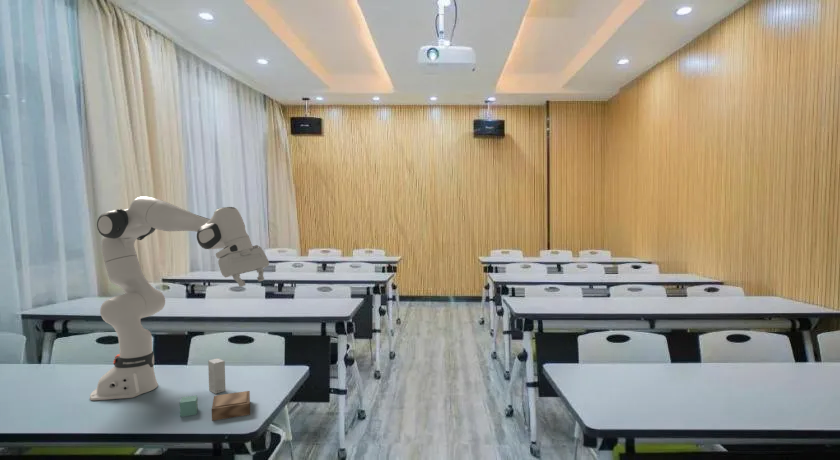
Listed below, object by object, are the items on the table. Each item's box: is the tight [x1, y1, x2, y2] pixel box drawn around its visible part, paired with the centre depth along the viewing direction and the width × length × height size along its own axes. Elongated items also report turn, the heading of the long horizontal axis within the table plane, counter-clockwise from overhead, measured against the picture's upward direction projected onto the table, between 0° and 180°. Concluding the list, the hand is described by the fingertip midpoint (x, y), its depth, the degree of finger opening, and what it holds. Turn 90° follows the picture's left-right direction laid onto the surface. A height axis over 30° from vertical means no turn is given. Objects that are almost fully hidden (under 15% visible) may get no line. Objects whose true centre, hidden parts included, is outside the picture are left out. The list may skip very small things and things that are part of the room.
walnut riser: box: [211, 390, 251, 422], centre depth 161 cm, size 12×12×4 cm
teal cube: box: [179, 395, 199, 418], centre depth 159 cm, size 5×5×5 cm
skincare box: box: [207, 357, 226, 395], centre depth 179 cm, size 6×4×12 cm
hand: (252, 283), depth 166 cm, fingers open, 8 cm apart
